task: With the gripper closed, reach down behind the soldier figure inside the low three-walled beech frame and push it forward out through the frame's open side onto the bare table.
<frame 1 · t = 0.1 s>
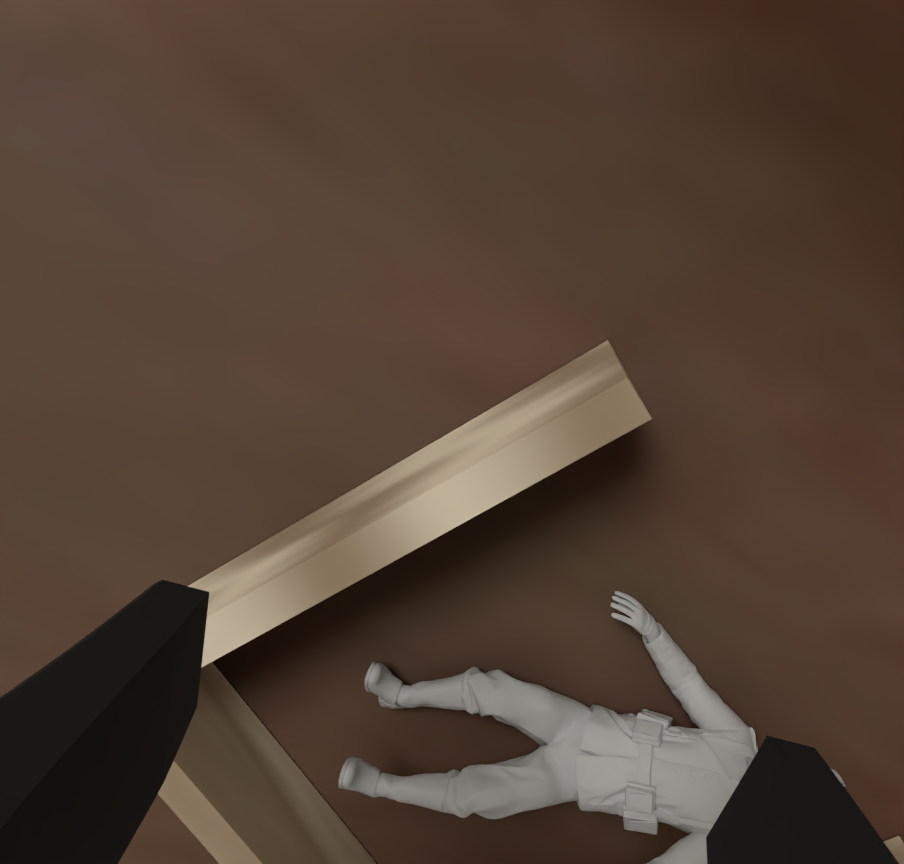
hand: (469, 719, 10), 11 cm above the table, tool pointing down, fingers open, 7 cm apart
soldier figure: (576, 706, 23), on the table
beech frame: (545, 732, 23), on the table
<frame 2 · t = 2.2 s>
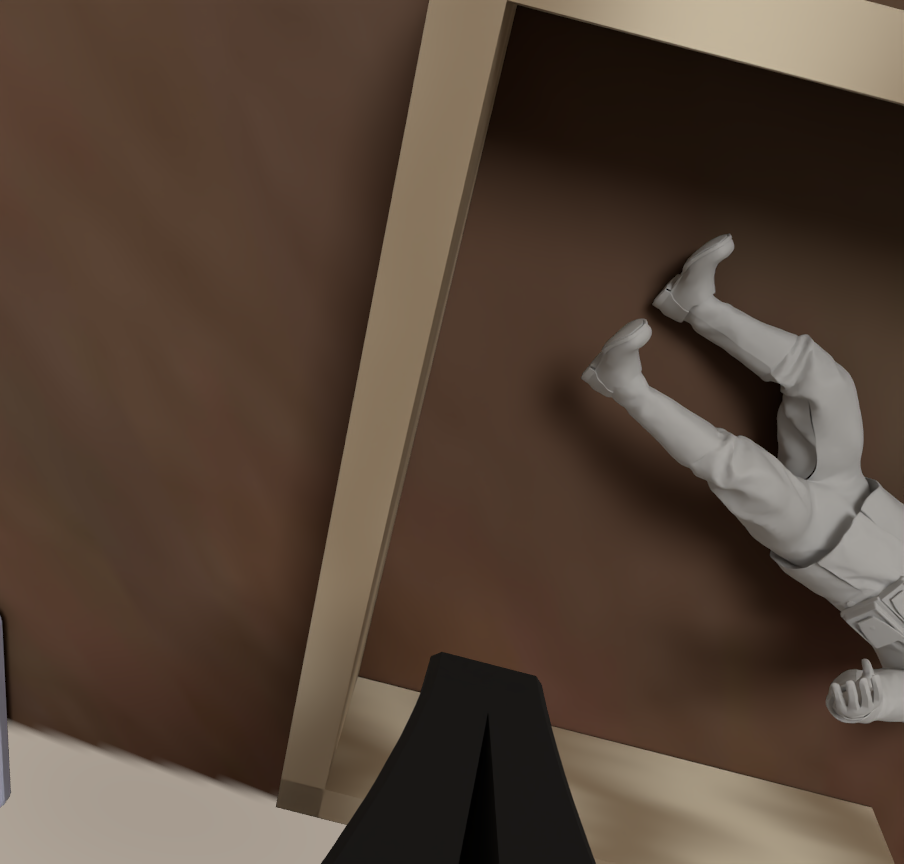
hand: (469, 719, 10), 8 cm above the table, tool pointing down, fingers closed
soldier figure: (818, 465, 17), on the table
beech frame: (732, 493, 17), on the table
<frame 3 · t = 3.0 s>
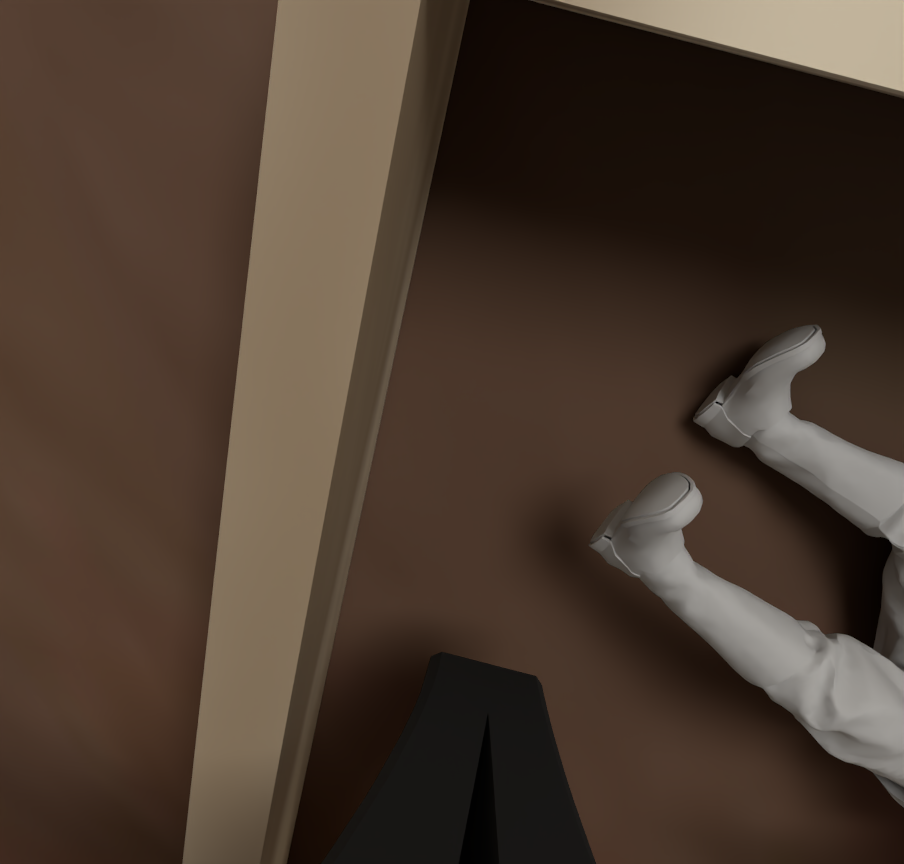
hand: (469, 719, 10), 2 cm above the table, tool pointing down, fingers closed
beech frame: (789, 678, 12), on the table
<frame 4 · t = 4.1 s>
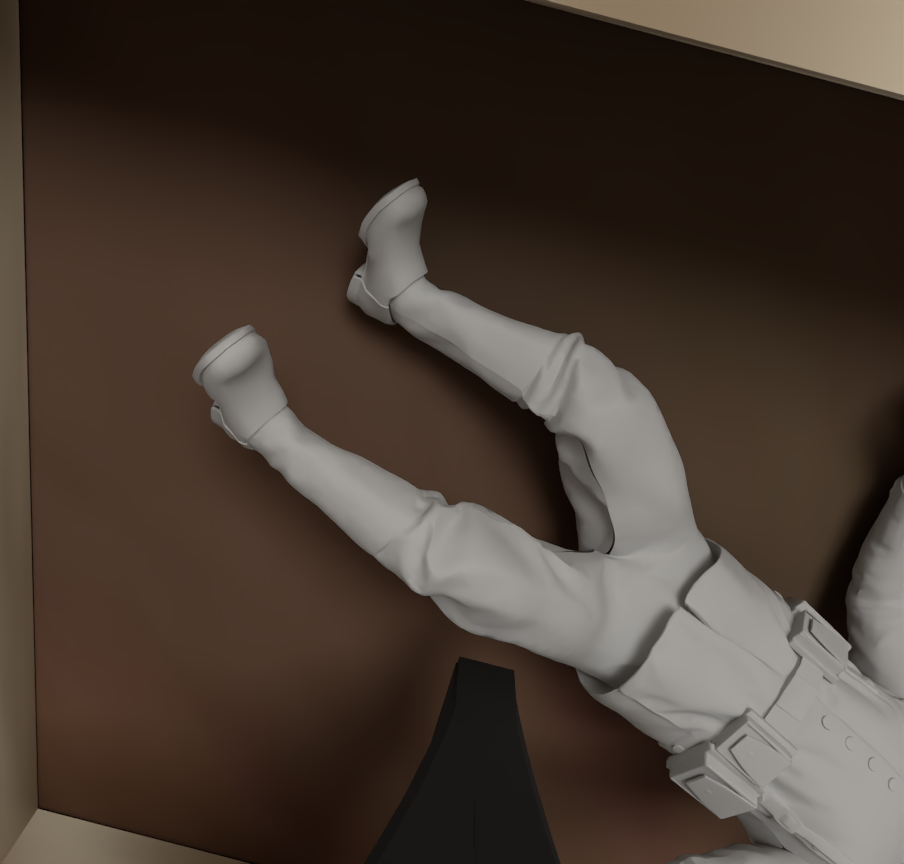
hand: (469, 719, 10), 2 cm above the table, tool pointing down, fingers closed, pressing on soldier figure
soldier figure: (653, 521, 12), on the table, touching gripper
beech frame: (468, 594, 12), on the table
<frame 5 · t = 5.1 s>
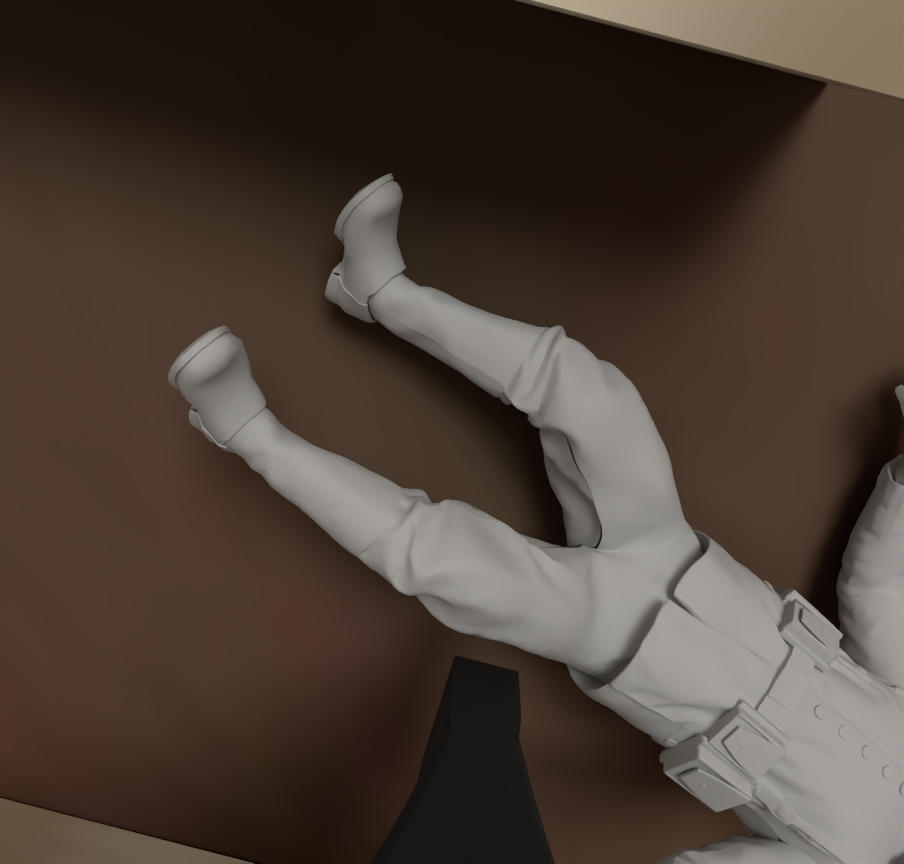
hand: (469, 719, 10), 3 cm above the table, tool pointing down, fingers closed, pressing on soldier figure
soldier figure: (642, 514, 12), on the table, touching gripper
beech frame: (163, 514, 12), on the table
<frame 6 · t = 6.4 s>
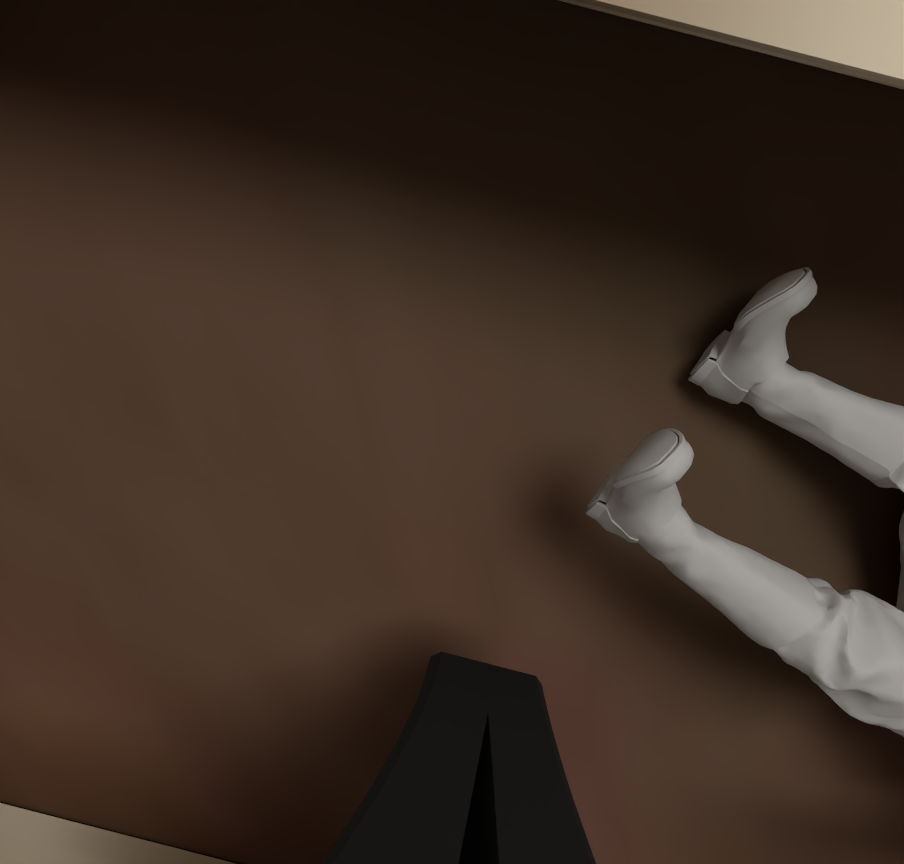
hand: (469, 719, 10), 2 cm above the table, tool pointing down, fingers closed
beech frame: (415, 581, 12), on the table
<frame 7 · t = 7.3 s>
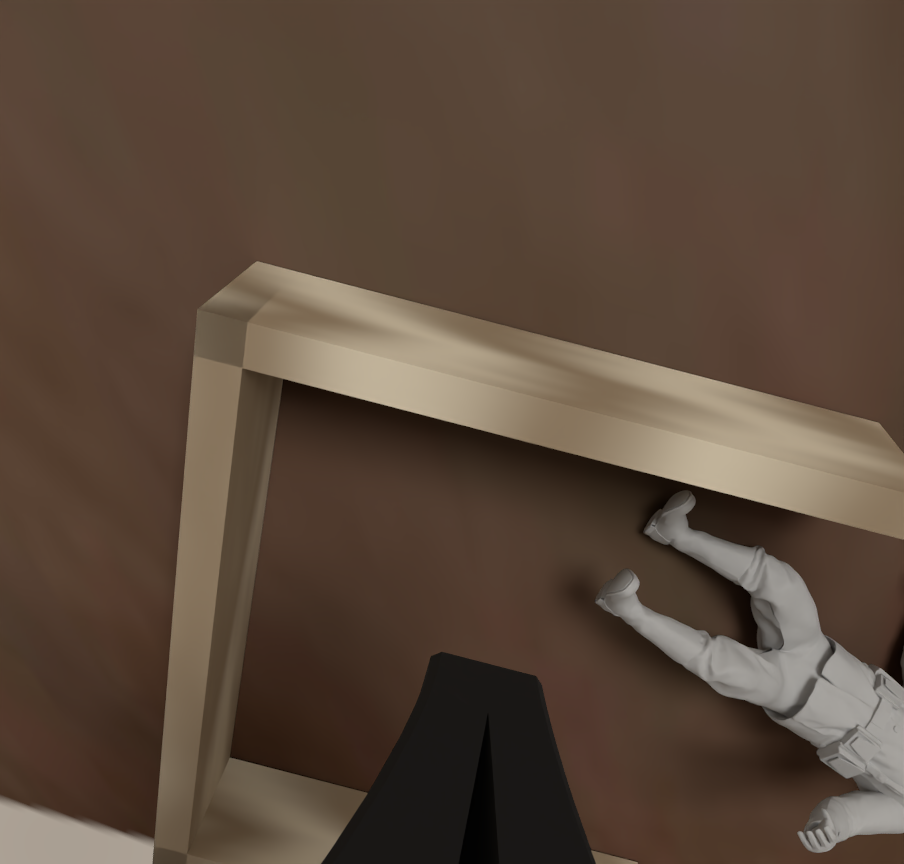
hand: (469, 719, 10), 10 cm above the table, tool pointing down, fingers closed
soldier figure: (793, 624, 22), on the table
beech frame: (493, 632, 23), on the table
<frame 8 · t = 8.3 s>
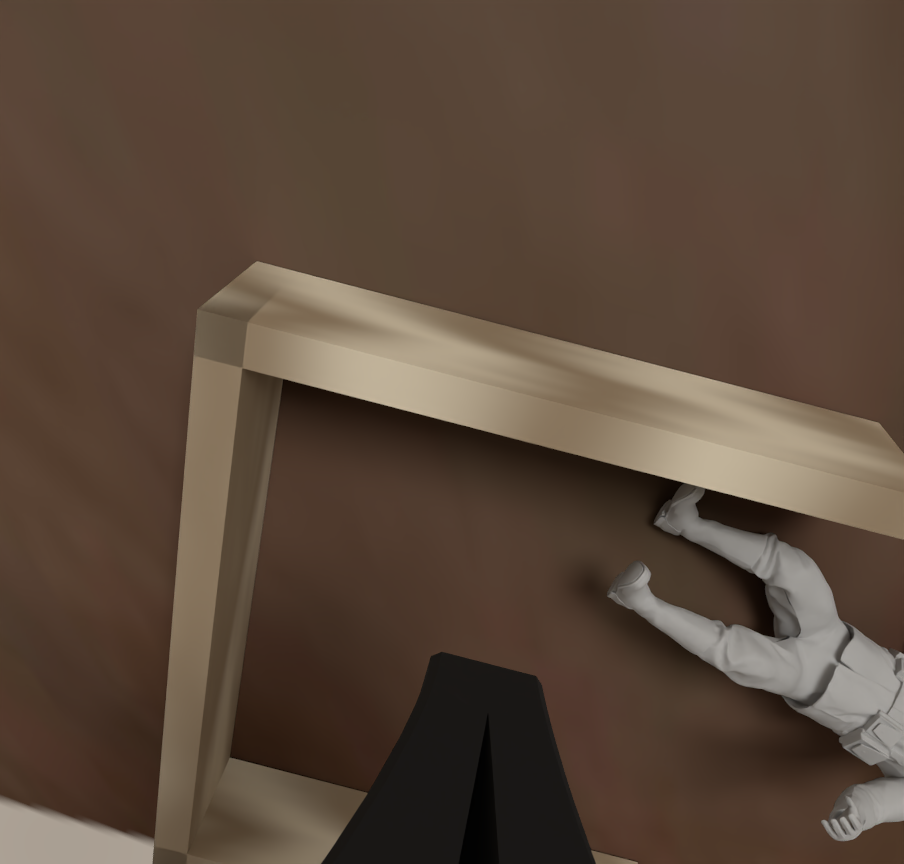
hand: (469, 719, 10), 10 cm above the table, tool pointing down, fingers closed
soldier figure: (810, 612, 22), on the table
beech frame: (493, 632, 23), on the table
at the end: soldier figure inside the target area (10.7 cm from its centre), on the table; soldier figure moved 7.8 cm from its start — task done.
